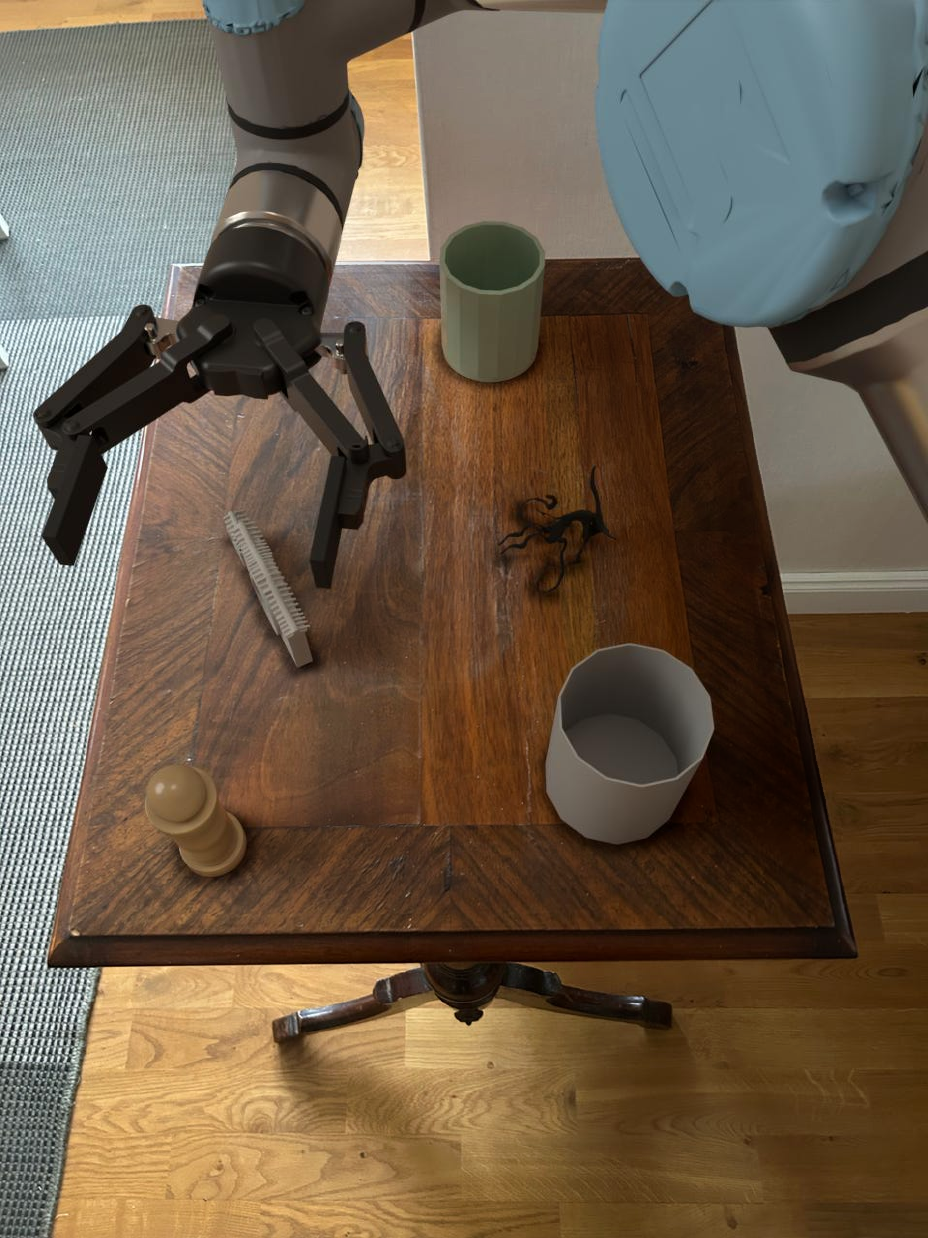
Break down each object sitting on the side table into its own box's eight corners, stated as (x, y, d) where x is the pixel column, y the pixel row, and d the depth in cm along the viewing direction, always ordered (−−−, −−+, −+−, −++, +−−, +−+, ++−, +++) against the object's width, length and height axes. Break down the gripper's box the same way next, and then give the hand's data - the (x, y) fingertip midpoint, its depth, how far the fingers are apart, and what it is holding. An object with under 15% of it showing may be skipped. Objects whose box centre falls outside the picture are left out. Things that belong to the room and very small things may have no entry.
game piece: (251, 817, 62) (212, 749, 52) (241, 879, 60) (199, 820, 50) (189, 814, 62) (139, 746, 52) (178, 875, 60) (123, 817, 51)
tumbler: (538, 314, 83) (545, 222, 75) (536, 384, 79) (544, 295, 71) (445, 310, 83) (443, 219, 75) (439, 380, 79) (436, 292, 71)
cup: (687, 732, 64) (722, 661, 56) (671, 857, 61) (705, 801, 52) (557, 705, 65) (571, 631, 57) (532, 825, 62) (543, 766, 53)
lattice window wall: (228, 540, 72) (210, 490, 67) (252, 530, 72) (235, 480, 67) (295, 674, 67) (281, 631, 61) (320, 663, 67) (308, 619, 62)
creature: (514, 609, 70) (626, 580, 69) (499, 571, 66) (619, 540, 65) (494, 517, 74) (600, 489, 73) (478, 476, 69) (591, 444, 68)
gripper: (472, 331, 64) (433, 621, 54) (90, 301, 66) (-20, 579, 55) (473, 234, 58) (429, 543, 48) (48, 204, 59) (-84, 498, 49)
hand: (187, 563), depth 51 cm, fingers open, 13 cm apart
